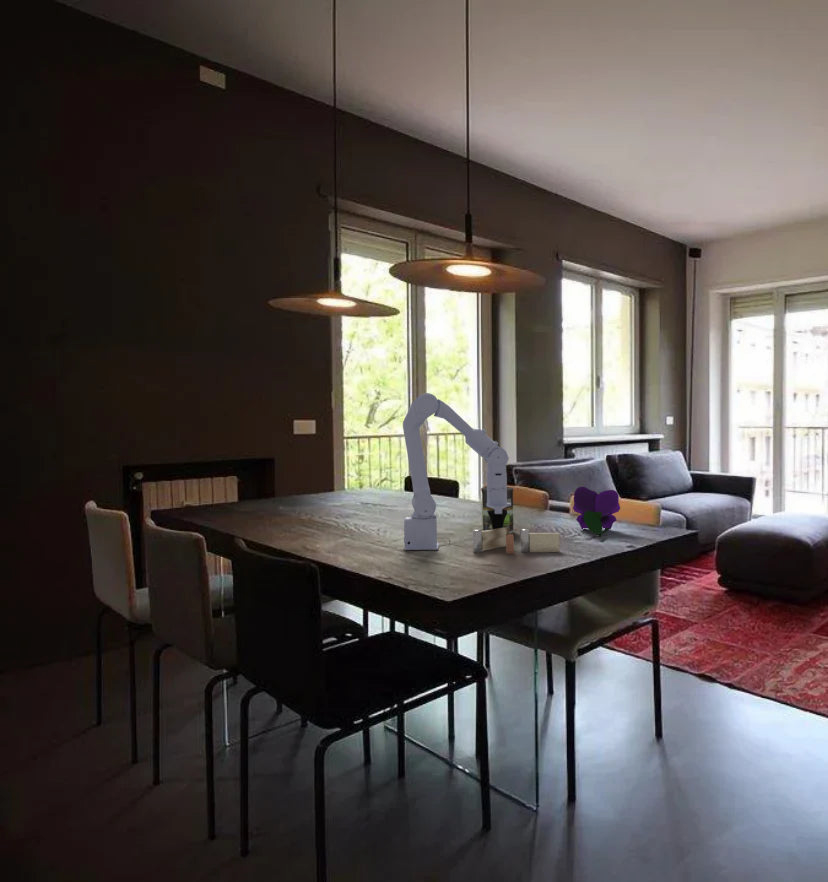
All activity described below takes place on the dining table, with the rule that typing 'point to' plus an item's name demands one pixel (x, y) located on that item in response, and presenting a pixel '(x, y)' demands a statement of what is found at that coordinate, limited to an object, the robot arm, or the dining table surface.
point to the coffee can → (485, 517)
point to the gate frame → (524, 541)
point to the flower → (596, 509)
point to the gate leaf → (494, 538)
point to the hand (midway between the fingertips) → (497, 535)
